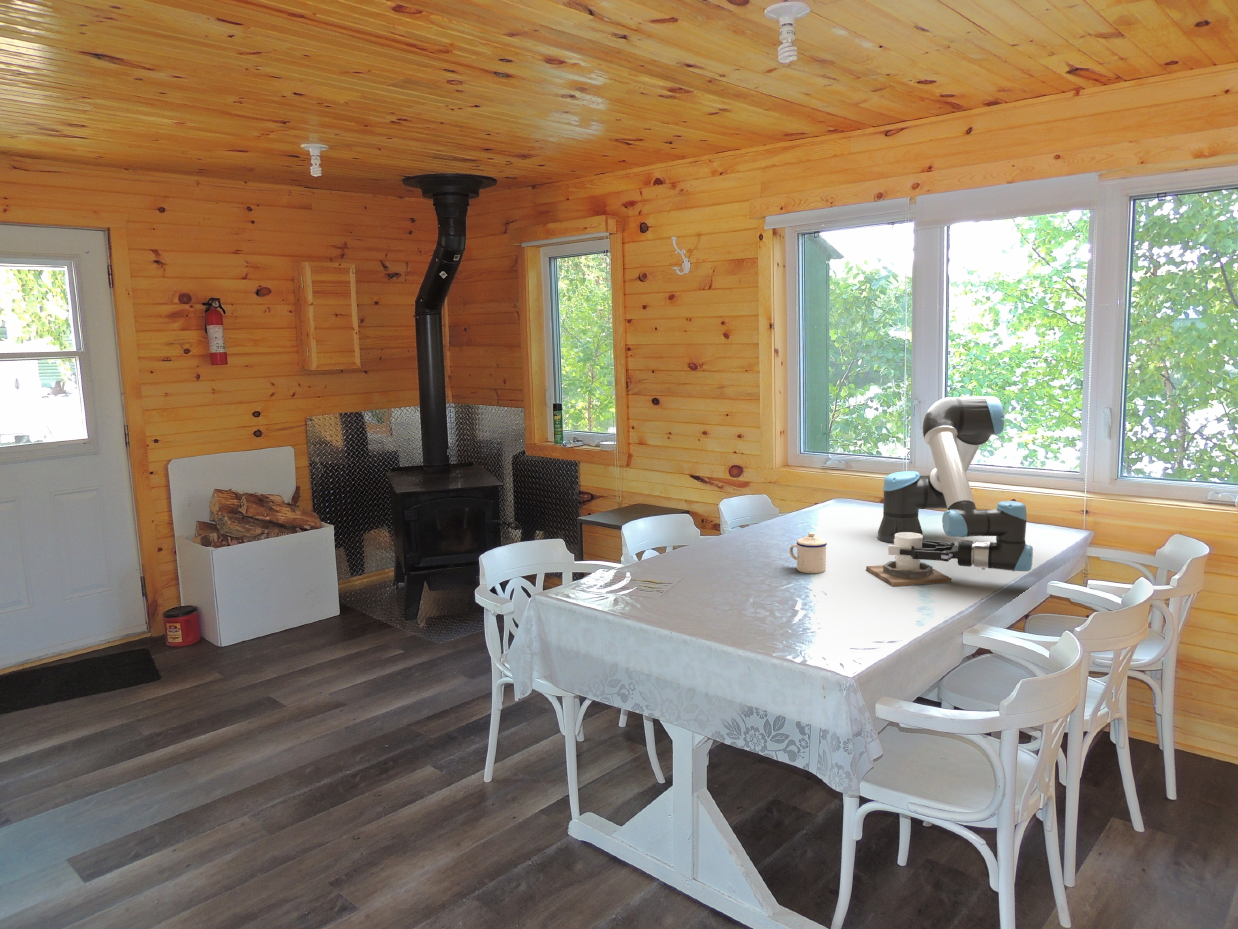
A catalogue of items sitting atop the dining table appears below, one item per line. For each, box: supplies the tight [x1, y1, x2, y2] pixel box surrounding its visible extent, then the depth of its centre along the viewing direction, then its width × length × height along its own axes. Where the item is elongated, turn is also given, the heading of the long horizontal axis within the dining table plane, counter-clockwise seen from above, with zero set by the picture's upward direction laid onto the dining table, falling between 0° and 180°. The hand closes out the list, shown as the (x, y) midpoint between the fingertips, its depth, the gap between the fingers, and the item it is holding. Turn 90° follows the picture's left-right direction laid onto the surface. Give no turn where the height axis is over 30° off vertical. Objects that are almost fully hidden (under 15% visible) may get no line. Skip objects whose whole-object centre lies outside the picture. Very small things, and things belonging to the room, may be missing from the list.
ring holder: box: [865, 560, 953, 587], centre depth 265 cm, size 18×18×3 cm
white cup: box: [894, 532, 924, 571], centre depth 264 cm, size 8×8×10 cm
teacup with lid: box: [789, 532, 828, 574], centre depth 274 cm, size 12×9×12 cm
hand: (891, 546), depth 266 cm, fingers closed on white cup, 8 cm apart
